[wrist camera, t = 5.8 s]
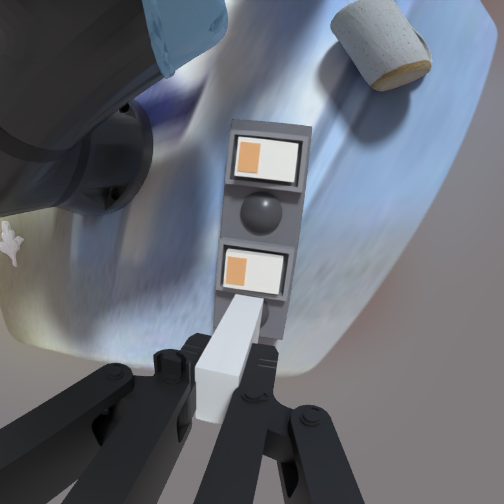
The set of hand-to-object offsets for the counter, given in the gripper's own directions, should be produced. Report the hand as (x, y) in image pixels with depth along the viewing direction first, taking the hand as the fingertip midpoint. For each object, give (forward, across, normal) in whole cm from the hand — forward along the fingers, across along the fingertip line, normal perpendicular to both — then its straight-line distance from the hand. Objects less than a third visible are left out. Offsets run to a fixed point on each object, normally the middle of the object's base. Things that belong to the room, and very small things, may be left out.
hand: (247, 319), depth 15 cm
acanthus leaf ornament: (+16, -44, -5) cm, 47 cm away
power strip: (+15, -1, +2) cm, 15 cm away
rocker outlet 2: (+10, -1, -1) cm, 10 cm away
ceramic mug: (+15, +10, +23) cm, 29 cm away
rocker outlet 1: (+10, -1, +9) cm, 14 cm away
